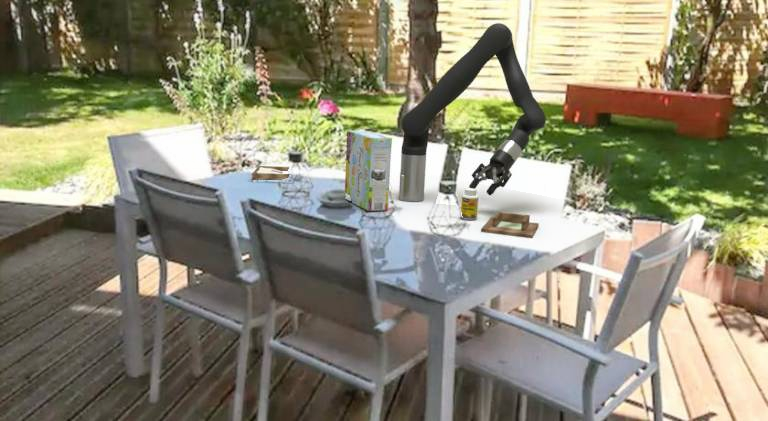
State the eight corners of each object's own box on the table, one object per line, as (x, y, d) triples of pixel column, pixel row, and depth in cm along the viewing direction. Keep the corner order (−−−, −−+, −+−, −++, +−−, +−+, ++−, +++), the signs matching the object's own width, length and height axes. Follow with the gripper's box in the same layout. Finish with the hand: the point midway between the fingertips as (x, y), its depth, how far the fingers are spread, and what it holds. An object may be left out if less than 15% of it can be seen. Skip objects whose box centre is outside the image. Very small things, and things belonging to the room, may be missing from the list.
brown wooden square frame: (480, 231, 226) (481, 219, 225) (490, 220, 241) (491, 209, 240) (531, 238, 221) (532, 225, 220) (538, 226, 236) (539, 214, 235)
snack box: (390, 211, 248) (393, 137, 242) (367, 212, 244) (370, 138, 238) (364, 197, 267) (366, 129, 261) (343, 199, 263) (345, 129, 257)
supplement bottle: (458, 219, 240) (460, 189, 238) (462, 215, 245) (464, 186, 243) (475, 221, 239) (477, 191, 236) (478, 217, 244) (480, 188, 241)
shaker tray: (252, 181, 287) (252, 173, 286) (258, 173, 304) (258, 165, 303) (292, 183, 287) (293, 174, 287) (297, 175, 304) (297, 167, 303)
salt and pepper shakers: (253, 181, 289) (280, 183, 288) (253, 171, 288) (280, 173, 287) (260, 176, 301) (286, 178, 300) (260, 166, 300) (286, 168, 299)
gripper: (486, 145, 250) (460, 180, 246) (516, 151, 239) (489, 188, 235) (496, 159, 254) (470, 194, 250) (525, 166, 243) (499, 202, 239)
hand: (479, 191), depth 242 cm, fingers open, 8 cm apart
